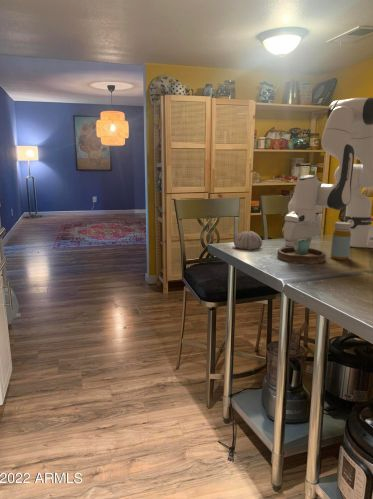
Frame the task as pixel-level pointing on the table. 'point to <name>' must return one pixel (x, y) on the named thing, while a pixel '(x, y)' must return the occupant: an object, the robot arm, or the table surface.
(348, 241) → the bottle
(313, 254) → the round tray
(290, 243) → the fruit juice
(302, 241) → the bead
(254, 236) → the sea urchin shell
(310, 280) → the table surface
